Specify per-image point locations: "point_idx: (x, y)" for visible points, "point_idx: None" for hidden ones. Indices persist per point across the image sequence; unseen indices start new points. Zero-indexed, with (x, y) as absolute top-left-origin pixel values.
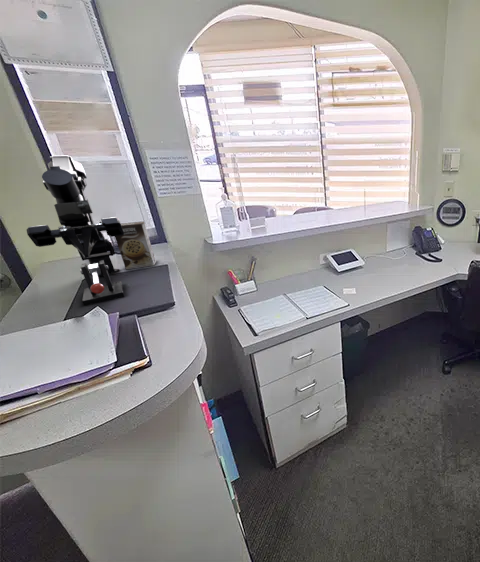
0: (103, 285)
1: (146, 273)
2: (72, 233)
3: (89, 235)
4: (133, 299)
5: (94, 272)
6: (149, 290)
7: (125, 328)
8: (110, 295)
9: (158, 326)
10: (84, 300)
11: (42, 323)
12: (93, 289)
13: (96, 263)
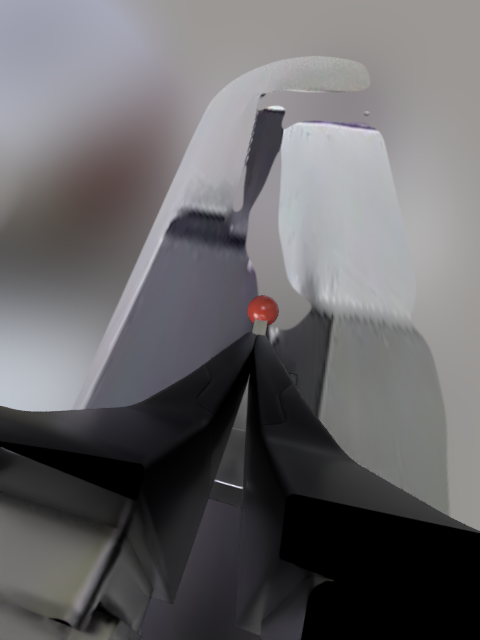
0: (229, 493)
1: None
2: (314, 476)
3: (137, 407)
4: (207, 316)
5: (245, 407)
6: (162, 349)
7: (257, 192)
8: None
9: (223, 166)
10: (292, 375)
11: (370, 331)
12: (273, 299)
13: (217, 479)
